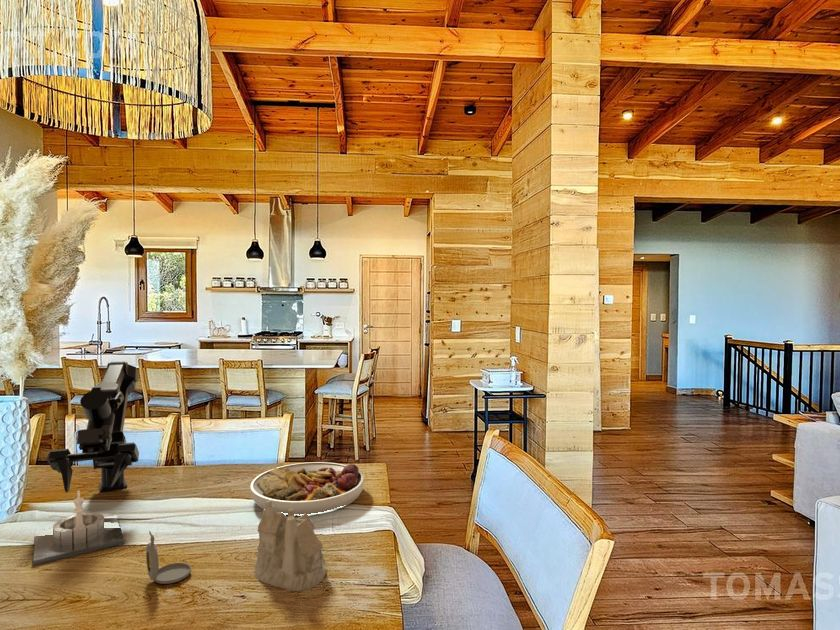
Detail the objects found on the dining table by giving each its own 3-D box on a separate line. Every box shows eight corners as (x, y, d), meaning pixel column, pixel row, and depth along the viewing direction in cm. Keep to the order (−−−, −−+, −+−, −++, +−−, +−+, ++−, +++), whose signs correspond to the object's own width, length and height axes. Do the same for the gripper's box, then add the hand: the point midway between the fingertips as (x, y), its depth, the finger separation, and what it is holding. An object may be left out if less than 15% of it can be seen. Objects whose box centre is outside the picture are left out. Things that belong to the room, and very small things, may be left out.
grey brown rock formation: (295, 597, 94) (297, 514, 95) (238, 573, 103) (239, 497, 104) (352, 565, 107) (353, 492, 108) (296, 546, 116) (297, 479, 117)
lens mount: (35, 535, 118) (35, 517, 117) (117, 517, 127) (116, 501, 127) (33, 565, 104) (32, 546, 104) (124, 543, 114) (123, 526, 114)
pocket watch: (198, 570, 103) (197, 521, 103) (165, 594, 95) (164, 540, 95) (166, 563, 106) (165, 515, 105) (131, 585, 98) (130, 533, 97)
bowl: (257, 531, 121) (257, 498, 121) (245, 486, 148) (244, 459, 148) (378, 510, 133) (378, 479, 133) (346, 472, 160) (346, 447, 160)
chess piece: (65, 541, 112) (64, 496, 112) (66, 532, 117) (65, 489, 116) (92, 536, 115) (91, 492, 115) (92, 527, 119) (91, 485, 119)
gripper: (47, 417, 124) (31, 479, 114) (134, 410, 129) (126, 469, 120) (60, 440, 132) (46, 500, 122) (142, 433, 137) (135, 489, 128)
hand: (88, 489), depth 123 cm, fingers open, 9 cm apart
